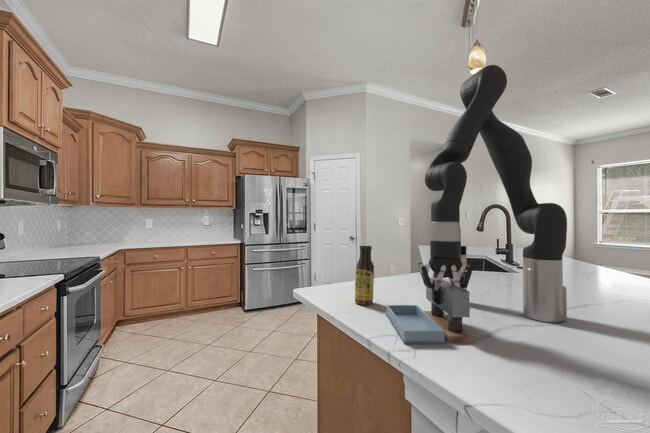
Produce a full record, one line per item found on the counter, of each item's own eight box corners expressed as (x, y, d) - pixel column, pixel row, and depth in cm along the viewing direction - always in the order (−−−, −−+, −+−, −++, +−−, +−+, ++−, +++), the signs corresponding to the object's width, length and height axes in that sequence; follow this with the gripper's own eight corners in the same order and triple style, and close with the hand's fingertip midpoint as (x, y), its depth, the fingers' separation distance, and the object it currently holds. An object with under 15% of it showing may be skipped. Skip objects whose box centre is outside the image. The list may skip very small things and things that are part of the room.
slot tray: (417, 315, 84) (416, 305, 84) (444, 344, 65) (444, 331, 65) (386, 315, 84) (386, 305, 84) (404, 344, 65) (404, 330, 65)
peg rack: (443, 316, 83) (442, 297, 83) (474, 342, 65) (474, 318, 65) (422, 316, 83) (422, 297, 84) (449, 342, 65) (448, 318, 66)
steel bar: (439, 298, 83) (439, 277, 83) (469, 317, 67) (469, 291, 67) (426, 298, 82) (426, 277, 83) (452, 317, 66) (452, 291, 67)
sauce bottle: (352, 304, 95) (351, 245, 96) (358, 299, 101) (358, 244, 101) (370, 307, 92) (370, 246, 92) (376, 302, 98) (376, 244, 98)
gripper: (465, 238, 78) (465, 299, 78) (413, 238, 78) (414, 299, 78) (479, 240, 71) (480, 308, 71) (423, 240, 71) (423, 308, 71)
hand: (445, 303), depth 75 cm, fingers closed on steel bar, 4 cm apart
